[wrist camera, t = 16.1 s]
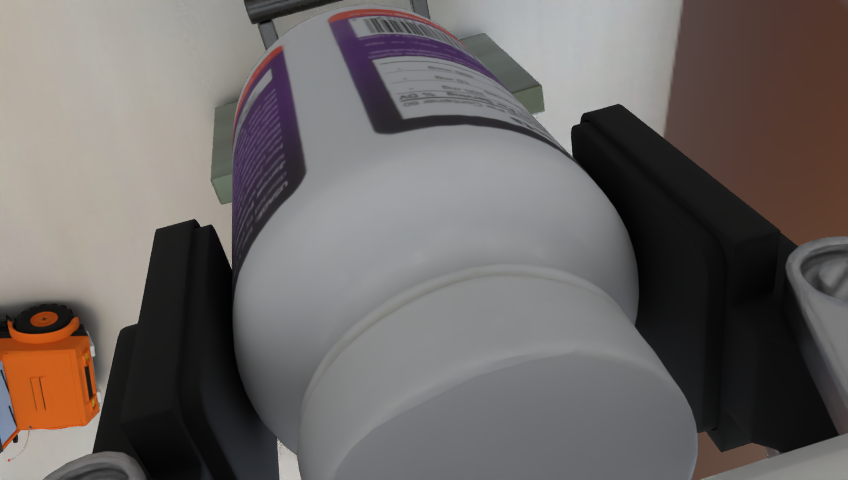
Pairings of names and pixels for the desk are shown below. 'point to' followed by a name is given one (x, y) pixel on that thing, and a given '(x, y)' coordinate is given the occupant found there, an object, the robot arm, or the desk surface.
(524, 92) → the drawer
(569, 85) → the desk surface
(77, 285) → the desk surface
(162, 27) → the desk surface
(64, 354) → the toy car
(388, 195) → the pill bottle
